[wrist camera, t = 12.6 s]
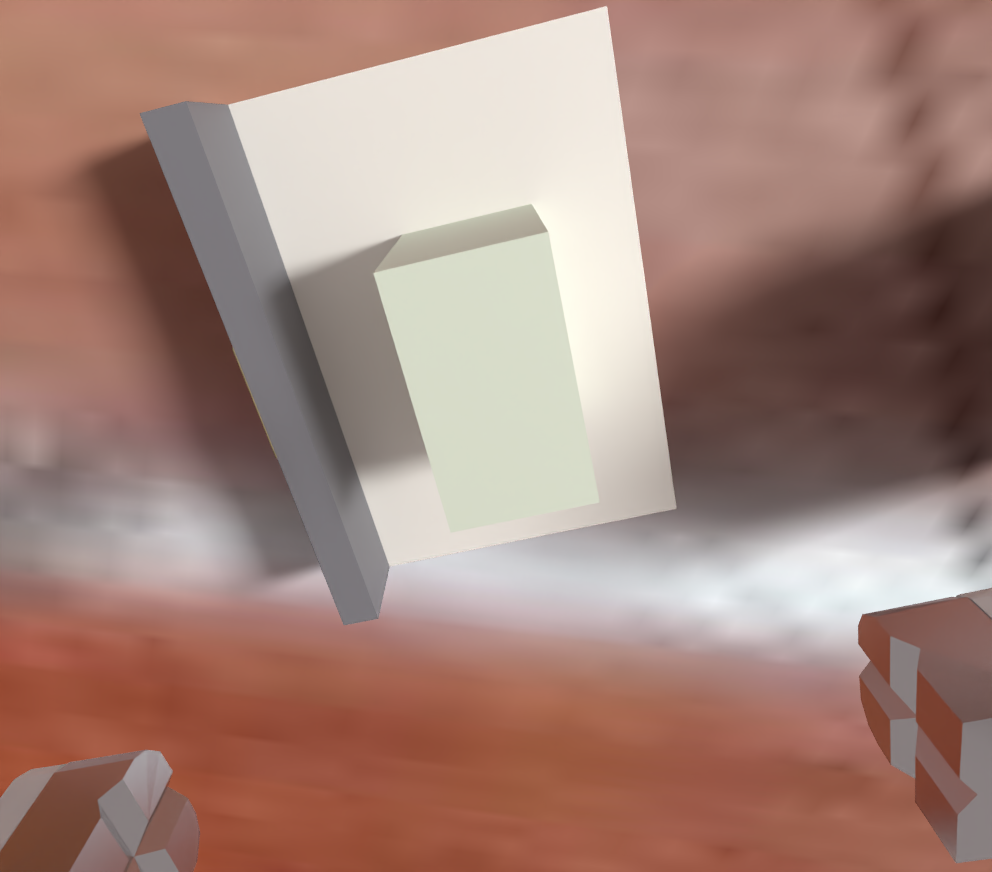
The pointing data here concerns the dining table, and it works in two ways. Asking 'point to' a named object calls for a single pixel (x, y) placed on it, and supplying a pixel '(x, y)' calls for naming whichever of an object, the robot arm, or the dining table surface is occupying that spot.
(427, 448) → the carton
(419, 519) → the shelf board
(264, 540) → the dining table surface
